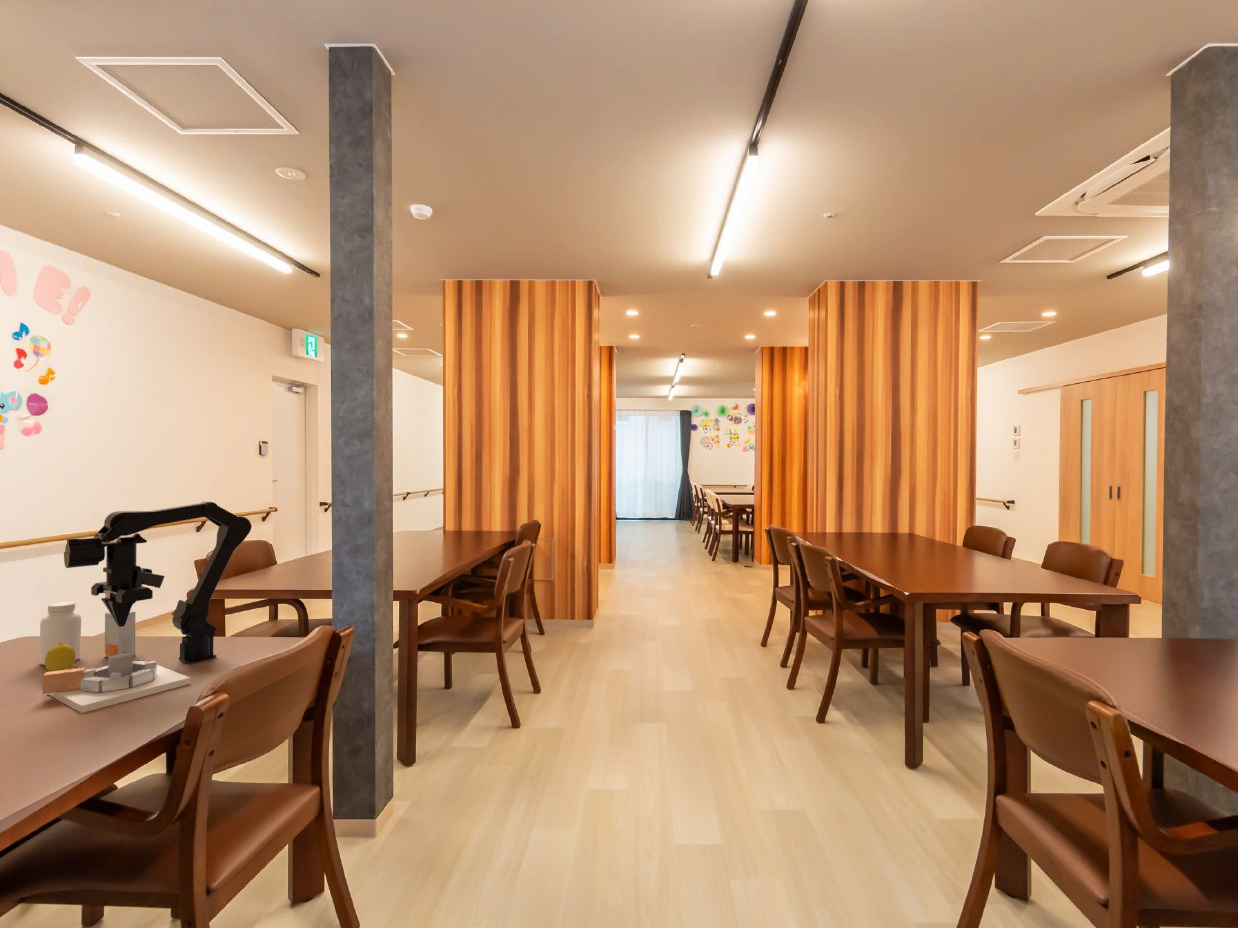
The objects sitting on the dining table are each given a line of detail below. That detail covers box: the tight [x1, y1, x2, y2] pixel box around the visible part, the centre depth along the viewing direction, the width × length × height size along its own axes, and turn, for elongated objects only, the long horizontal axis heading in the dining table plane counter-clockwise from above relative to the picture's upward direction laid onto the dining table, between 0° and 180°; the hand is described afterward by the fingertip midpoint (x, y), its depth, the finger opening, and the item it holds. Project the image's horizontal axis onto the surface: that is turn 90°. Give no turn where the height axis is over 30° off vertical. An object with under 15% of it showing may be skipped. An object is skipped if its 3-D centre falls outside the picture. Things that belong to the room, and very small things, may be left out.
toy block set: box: [42, 660, 158, 695], centre depth 138 cm, size 20×13×4 cm, turn 122°
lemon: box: [44, 643, 76, 672], centre depth 148 cm, size 6×6×8 cm
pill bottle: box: [38, 601, 82, 666], centre depth 159 cm, size 8×8×15 cm
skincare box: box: [104, 610, 136, 658], centre depth 164 cm, size 6×4×12 cm
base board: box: [47, 653, 191, 714], centre depth 140 cm, size 20×20×8 cm
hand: (121, 626), depth 149 cm, fingers closed
